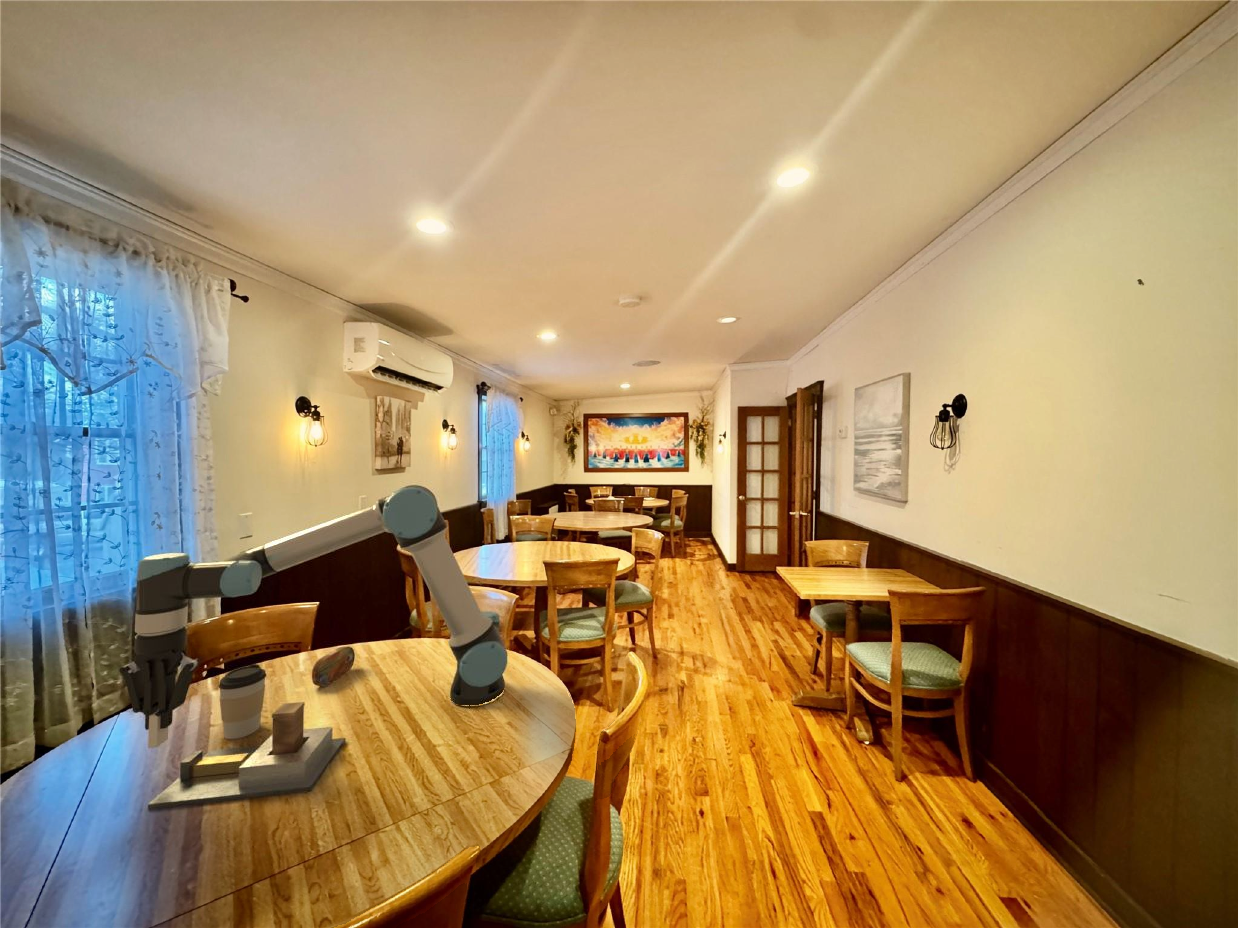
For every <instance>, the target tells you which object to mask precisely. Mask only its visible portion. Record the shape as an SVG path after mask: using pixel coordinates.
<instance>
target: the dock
mask: <svg viewBox="0 0 1238 928" xmlns="http://www.w3.org/2000/svg"><path fill="white" fill-rule="evenodd" d="M345 744H346V737H341V738H333V726H325V727H316V728H315V727H314V728H306V729H305V728H303V746H302V747H301V748H300V749H299V750H298V752H297V753H289V754H279V755H272V734H271V735H270V736H269V737H268V738H267V739H266V740H265V741H264V742H263V743H262V744H261V745H254V746H253V745H252V746H244V747H243V746H242V747H241V746H240V747H231V748H221V749H210V750H209V751H208V752H207V753H206V754H204V756H203V758H204V757H215V756H225V755H236V754H246V753H248V759H247V760H246V761H245V762H244V763H243V764H242V765H241V766H240V767H239V772H237V773H227V774H217V775H207V776H197V777H191V778H190V779H186V780H180V776H179V777H178V778H177V779H175V780H174V781H173V782H172V783H171V784H170V785H168V787H167V788H165V789H164V790H163V791H161V793H159V794H158V795H157V796H156V797H155V798H153V800H151V801H150V802H149V803H148V804H147V810H155V809H157V810H158V809H165V808H174V807H175V808H176V807H182V806H192V805H193V806H194V805H201V804H202V805H203V804H208V803H209V804H210V803H219V802H228V801H229V802H230V801H237V800H238V801H239V800H246V799H253V798H254V799H255V798H263V797H272V796H280V795H290V794H291V795H292V794H299V793H308V792H309V793H310V792H312V790H313V789H314V787H315V786H316V784H317V783H318V782H319V780H320V778H321V777H322V776H323V774H324V773H325V772H326V770H327V769H328V768H329V766H330V765H331V763H332V762H333V761H334V759H335V758H336V756H337V754H338V753H339V751H340V750H341V749H342V748H343V746H344V745H345Z"/></svg>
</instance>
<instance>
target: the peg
mask: <svg viewBox="0 0 1238 928" xmlns="http://www.w3.org/2000/svg"><path fill="white" fill-rule="evenodd" d="M304 713H305V701H300V702H299V701H298V702H287V703H282V704H281V705H280V706H279V707H278V708H277V709H276V710H275V711H274V712H272V713H271V718H272V733H271V735H272V755H279V754H289V753H297V752H298V750H299V749H300V748H301V747H302V746H303V729H304V727H305V726H304V723H305V722H304V716H305V715H304Z"/></svg>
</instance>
